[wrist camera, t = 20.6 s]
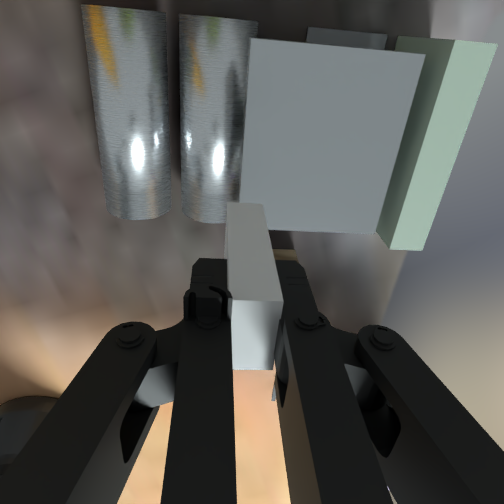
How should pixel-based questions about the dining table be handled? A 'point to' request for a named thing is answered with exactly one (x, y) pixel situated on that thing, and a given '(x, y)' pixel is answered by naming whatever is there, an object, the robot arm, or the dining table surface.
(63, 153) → the dining table surface
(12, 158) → the dining table surface
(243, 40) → the roller bed
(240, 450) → the dining table surface
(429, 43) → the block
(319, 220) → the stone slab
